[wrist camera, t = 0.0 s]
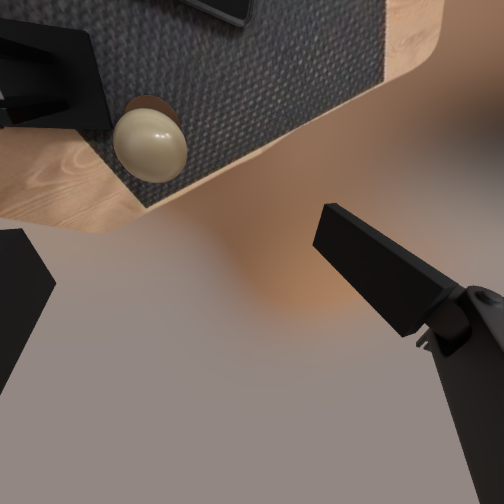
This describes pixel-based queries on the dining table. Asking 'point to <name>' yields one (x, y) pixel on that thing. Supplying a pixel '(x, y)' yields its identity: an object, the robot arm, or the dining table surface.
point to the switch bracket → (49, 78)
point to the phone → (225, 9)
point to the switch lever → (1, 96)
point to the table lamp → (150, 140)
